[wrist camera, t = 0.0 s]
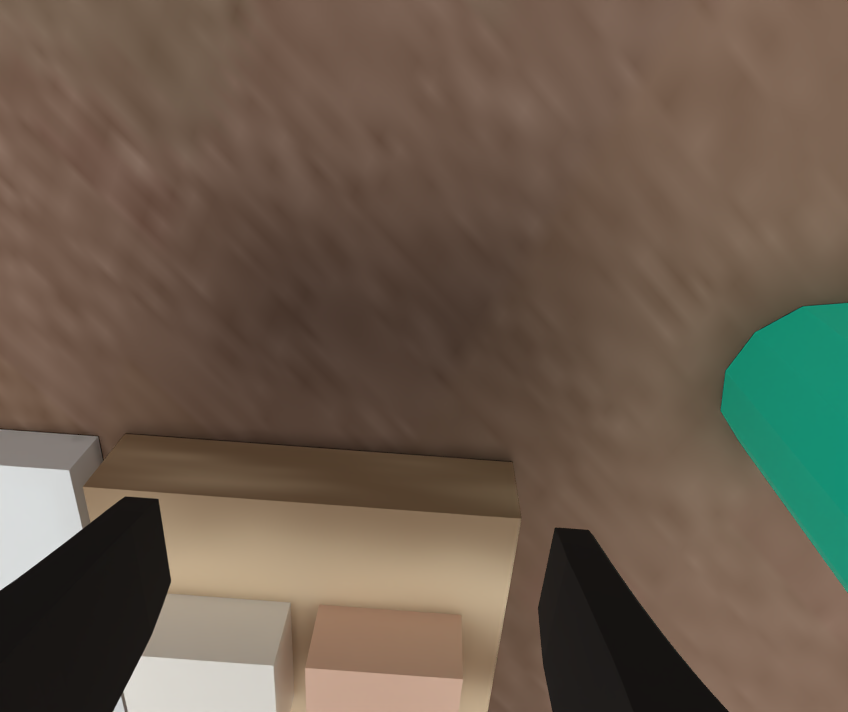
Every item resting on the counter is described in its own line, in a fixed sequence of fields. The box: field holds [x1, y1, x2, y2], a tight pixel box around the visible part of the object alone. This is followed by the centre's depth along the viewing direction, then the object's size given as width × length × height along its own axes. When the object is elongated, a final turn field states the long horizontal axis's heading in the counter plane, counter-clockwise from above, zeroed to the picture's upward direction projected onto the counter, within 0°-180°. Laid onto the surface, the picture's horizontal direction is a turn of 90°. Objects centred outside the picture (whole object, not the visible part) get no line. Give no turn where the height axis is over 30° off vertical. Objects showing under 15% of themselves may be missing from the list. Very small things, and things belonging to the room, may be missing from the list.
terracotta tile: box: [305, 605, 463, 712], centre depth 22 cm, size 5×5×2 cm
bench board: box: [83, 434, 521, 712], centre depth 25 cm, size 14×14×3 cm
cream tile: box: [123, 594, 294, 712], centre depth 22 cm, size 5×5×2 cm
